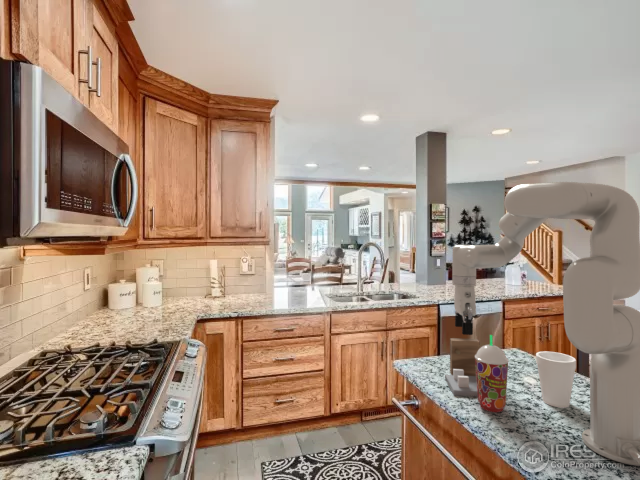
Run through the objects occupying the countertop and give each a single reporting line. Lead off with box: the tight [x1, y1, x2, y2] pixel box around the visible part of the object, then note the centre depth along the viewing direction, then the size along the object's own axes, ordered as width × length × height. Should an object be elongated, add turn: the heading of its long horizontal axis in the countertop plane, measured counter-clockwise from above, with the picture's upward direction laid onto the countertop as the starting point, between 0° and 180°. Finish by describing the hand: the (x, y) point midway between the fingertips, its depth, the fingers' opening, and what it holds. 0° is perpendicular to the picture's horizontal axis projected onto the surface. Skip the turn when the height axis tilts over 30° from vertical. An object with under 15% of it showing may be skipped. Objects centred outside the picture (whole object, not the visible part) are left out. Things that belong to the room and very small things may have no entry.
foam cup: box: [535, 350, 577, 409], centre depth 99 cm, size 10×9×13 cm
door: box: [449, 337, 481, 376], centre depth 120 cm, size 4×9×12 cm, turn 82°
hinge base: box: [444, 369, 478, 398], centre depth 109 cm, size 12×14×4 cm
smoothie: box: [475, 334, 509, 413], centre depth 97 cm, size 8×8×20 cm
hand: (463, 330), depth 121 cm, fingers open, 9 cm apart
